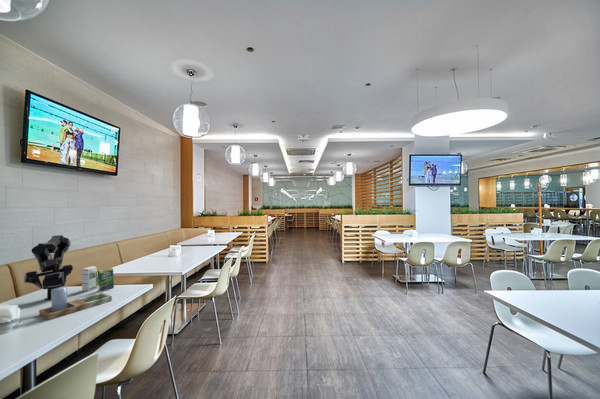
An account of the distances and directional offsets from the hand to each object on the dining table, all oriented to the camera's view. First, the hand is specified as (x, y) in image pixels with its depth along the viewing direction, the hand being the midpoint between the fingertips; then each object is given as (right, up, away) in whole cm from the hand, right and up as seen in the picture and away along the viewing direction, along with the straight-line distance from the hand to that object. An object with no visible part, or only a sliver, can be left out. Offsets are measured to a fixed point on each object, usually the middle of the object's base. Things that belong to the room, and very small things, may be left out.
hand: (53, 285), depth 137 cm
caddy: (+11, -13, +3) cm, 17 cm away
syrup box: (-7, -14, +32) cm, 36 cm away
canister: (+7, -13, -4) cm, 15 cm away
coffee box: (+4, -13, +31) cm, 34 cm away
